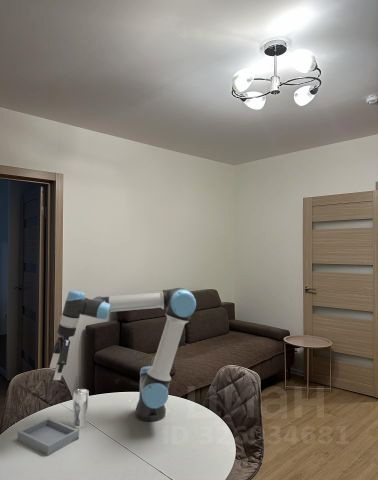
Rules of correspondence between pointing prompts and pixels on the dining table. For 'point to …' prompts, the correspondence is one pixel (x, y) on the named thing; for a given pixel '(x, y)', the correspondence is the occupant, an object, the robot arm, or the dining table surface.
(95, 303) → the robot arm
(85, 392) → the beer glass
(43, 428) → the tray
